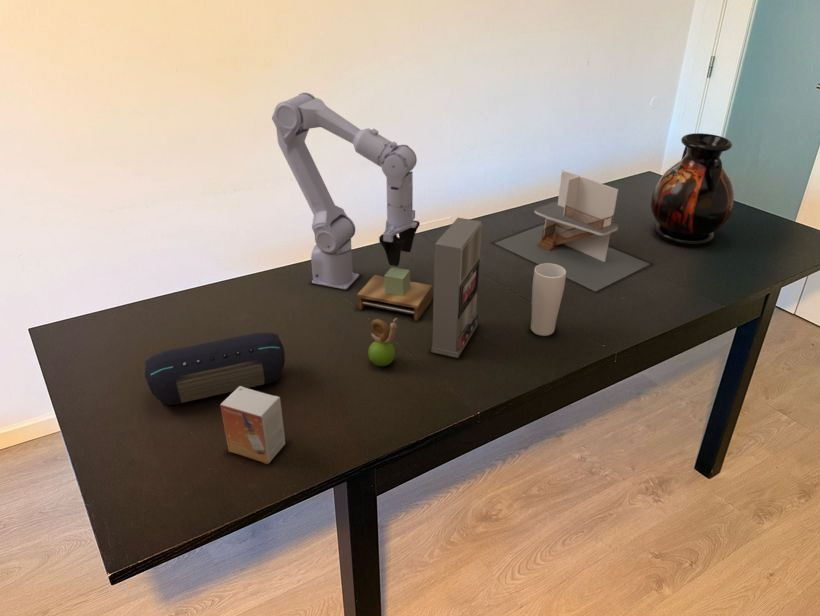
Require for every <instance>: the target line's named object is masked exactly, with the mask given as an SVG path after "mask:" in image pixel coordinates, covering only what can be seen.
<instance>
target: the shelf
mask: <svg viewBox="0 0 820 616" xmlns="http://www.w3.org/2000/svg"><path fill="white" fill-rule="evenodd" d="M356 296H357V309H358V310H359V311H360V310H361V311H363V309H364V308H365V307H366V306H367V307H370V308H371V307H372V308H377V309H383V310H386V311H387V310H388V311H393V312H396V313H402V314H407V315H412V316H413V321H415V322H418V321H419V320H420V318H421V316H422V315H423V314H424V313H425V311H426V309H427V308H428V306H429V305H430V304H431V302H432V300H433V285H432V284H426V283H422V282H415V281H411V280H410V288H409V289H408V291H407V292H406V293H405V295H404V296H399V295H394V294H388V293H385V276H382V275H378V274H374V275H373V276H372V277H371V278H370V279H369V280H368V281H367V282H366V284H365V285H364V286H363V287H362V288H361V290H360V291H359V292H358V293H357V295H356ZM373 301H375V302H373ZM379 302H380V303H379ZM383 303H384V304H383ZM385 303H386V304H385ZM388 304H389V305H388ZM391 304H392V305H391ZM394 305H395V306H394ZM398 306H401V307H398ZM405 307H406V308H405ZM408 308H412V309H408Z"/></svg>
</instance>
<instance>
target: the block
mask: <svg viewBox="0 0 820 616" xmlns="http://www.w3.org/2000/svg"><path fill="white" fill-rule="evenodd" d="M384 277H385V293H388V294H394V295H399V296H404V295H405V293H406V292H407V291H408V289H409V288H410V281H411V270H410V269H405V268H399V267H396V266H391V267H390V268H389V270H387V272H386V273H385V274H384Z"/></svg>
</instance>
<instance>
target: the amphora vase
mask: <svg viewBox="0 0 820 616" xmlns="http://www.w3.org/2000/svg"><path fill="white" fill-rule="evenodd" d="M680 142H681V144H682V145H683V146H684V149H683V153H682V156H681V159H680V160H679V161H678V162H676V163H675V164H674V165H672V166H671V167H669V168H668V169H667V170H666V171H665V172H664V173H663V174H662V176H661V177H660V178H659V180H658V181H657V183H656V185H655V186H654V189H653V192H652V194H651V201H650V208H651V213H652V215H653V218H654V219H655V221H656V222H657V223H656V224H655V225H654V233H655V234H656V236H657V237H659V238H660V239H661V240H663V241H664V242H667V243H669V244H672V245H675V246H680V247H687V248H689V247H690V248H695V247H703V246H707V245H708V244H711V243H712V242H713V240H714V239H715V232H716V231H717V230H719V229H720V228H722V227H723V226H724V225H725V224H726V223H727V221H728V220H729V219H730V217H731V214H732V211H733V208H734V200H735V196H734V195H735V194H734V188H733V183H732V180H731V178H730V176H729V175H728V173H727V171H726V170H725V168H724V167H723V162H722V159H721V157H722V154H723V153H724V152H727V151H729V150H731V149H732V147H733V143H732V141H731V140H729V139H728V138H726V137H725V136H721V135H717V134H709V133H702V132H700V133H697V132H696V133H688V134H685V135H683V136H682V137H681V138H680Z"/></svg>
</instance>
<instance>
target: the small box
mask: <svg viewBox="0 0 820 616" xmlns="http://www.w3.org/2000/svg"><path fill="white" fill-rule="evenodd" d="M281 402H282V401H281V397H280V396H278V395H273V394H269V393H266V392H262V391H259V390H254V389H251V388H245V387H242V386H239V387H238V388H237V389H236V390H235V391H232V392H231V393H230V394H229V396H227V397H226V398H225V399H224V400H223V401H222V402H221V403H220V404H219V406H220V411H221V417H222V422H223V426H224V427H223V428H224V434H225V438H226V444H227V449H228V452H229V453H233V454H235V455H236V454H237V455H239V456H242V457H246V458H248V459H251V460H254V461H257V462H261V463H263V464H266V465H269V464H270V463H271V461H272V460H273V459H274V458H275V457H276V456H277V454H278V453H279V452H280V451H281V450H282V449H283V447H284V446H285V445H286V436H285V429H284V420H283V410H282V404H281Z"/></svg>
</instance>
